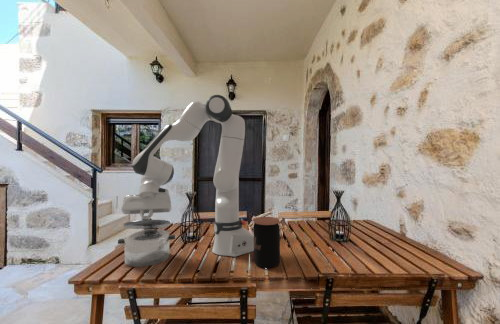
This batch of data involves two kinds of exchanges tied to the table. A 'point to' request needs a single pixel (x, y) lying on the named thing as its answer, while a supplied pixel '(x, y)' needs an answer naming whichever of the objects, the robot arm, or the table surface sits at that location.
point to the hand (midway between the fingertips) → (145, 220)
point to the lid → (146, 224)
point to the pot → (146, 247)
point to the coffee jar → (266, 242)
